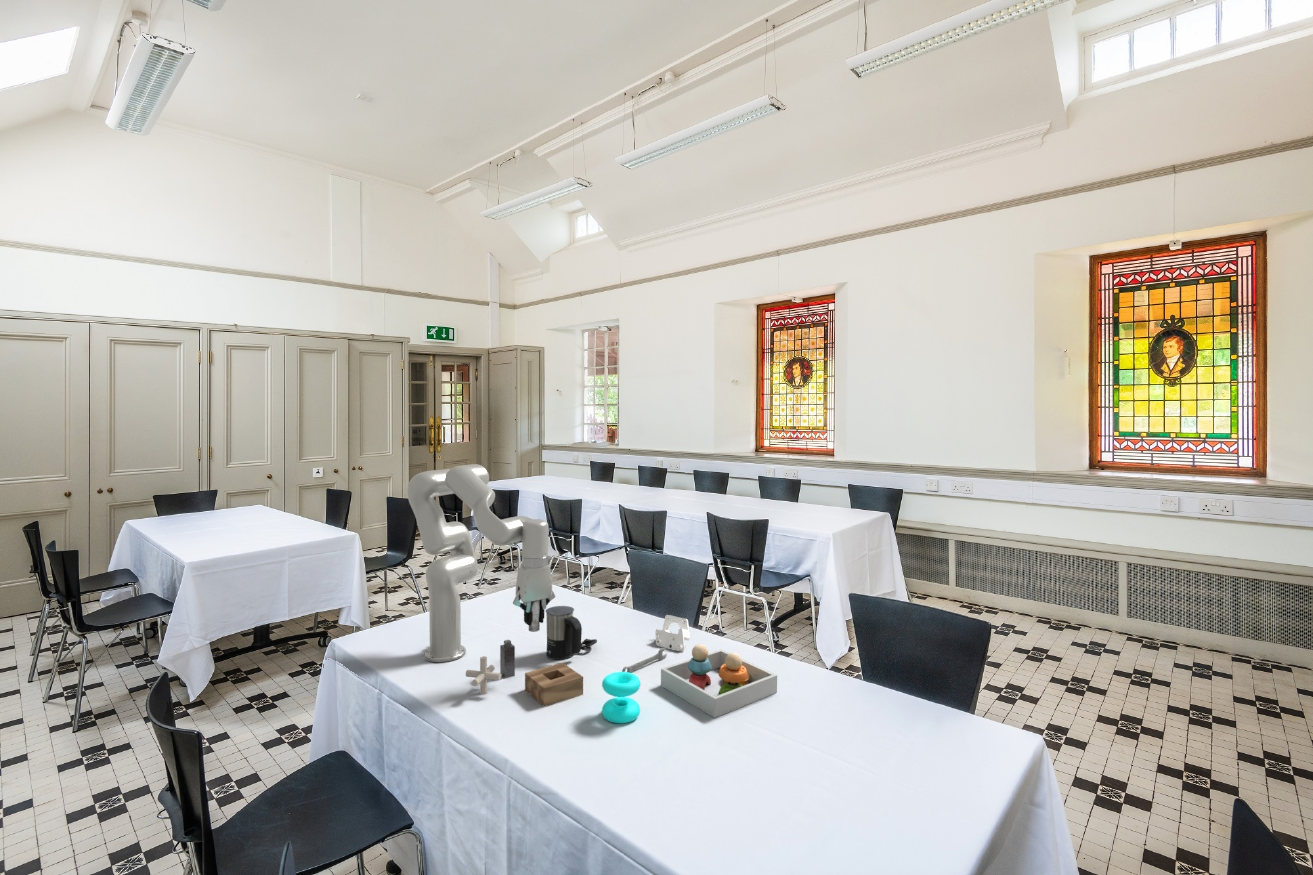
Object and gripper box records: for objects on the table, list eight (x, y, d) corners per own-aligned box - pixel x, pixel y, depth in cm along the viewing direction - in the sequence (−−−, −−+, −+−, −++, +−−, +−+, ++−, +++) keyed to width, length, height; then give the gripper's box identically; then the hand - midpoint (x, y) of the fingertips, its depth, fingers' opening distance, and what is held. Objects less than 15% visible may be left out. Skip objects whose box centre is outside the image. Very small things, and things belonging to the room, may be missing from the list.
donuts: (646, 682, 155) (609, 689, 151) (645, 720, 155) (609, 728, 151) (632, 667, 164) (597, 673, 160) (632, 703, 165) (596, 710, 161)
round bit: (526, 629, 180) (527, 594, 179) (536, 627, 182) (537, 592, 181) (531, 632, 177) (532, 597, 177) (541, 630, 179) (541, 595, 179)
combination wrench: (623, 667, 180) (668, 647, 195) (620, 666, 181) (665, 646, 196) (624, 679, 181) (668, 658, 195) (621, 678, 182) (665, 657, 196)
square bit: (500, 674, 182) (500, 640, 181) (510, 672, 183) (510, 638, 183) (504, 678, 179) (504, 643, 178) (514, 675, 181) (514, 641, 180)
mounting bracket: (690, 653, 204) (696, 621, 207) (681, 651, 199) (688, 618, 202) (660, 646, 210) (667, 614, 213) (651, 643, 205) (658, 611, 209)
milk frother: (539, 657, 195) (539, 611, 194) (565, 640, 209) (565, 598, 209) (578, 664, 189) (578, 618, 189) (601, 647, 204) (602, 603, 203)
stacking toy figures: (756, 680, 180) (756, 638, 180) (743, 706, 164) (744, 661, 163) (698, 670, 186) (698, 630, 186) (680, 694, 170) (681, 651, 170)
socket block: (524, 690, 172) (524, 672, 171) (562, 679, 179) (562, 662, 179) (544, 706, 162) (544, 688, 162) (583, 694, 169) (583, 676, 169)
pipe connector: (491, 702, 164) (491, 666, 164) (458, 698, 166) (457, 663, 166) (507, 686, 174) (507, 652, 173) (476, 683, 176) (475, 649, 175)
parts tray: (660, 685, 176) (661, 668, 175) (720, 665, 190) (721, 649, 190) (715, 717, 157) (715, 698, 157) (776, 692, 172) (777, 675, 172)
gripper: (553, 555, 187) (552, 614, 187) (503, 562, 177) (502, 624, 177) (565, 560, 181) (564, 621, 182) (514, 568, 171) (513, 632, 172)
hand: (534, 622), depth 180 cm, fingers closed on round bit, 3 cm apart
